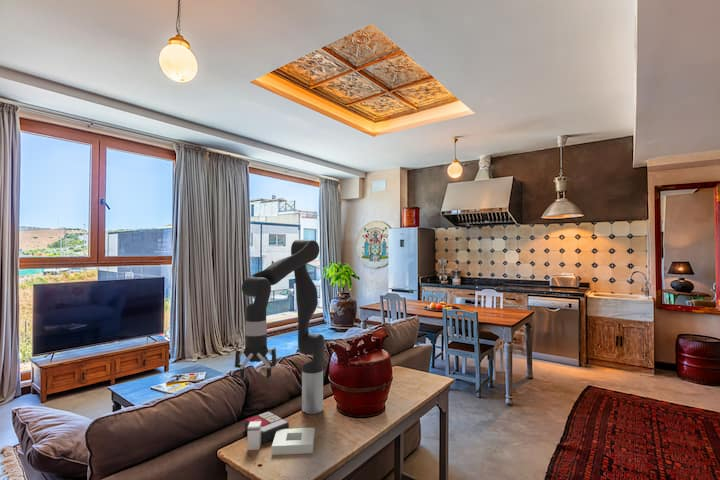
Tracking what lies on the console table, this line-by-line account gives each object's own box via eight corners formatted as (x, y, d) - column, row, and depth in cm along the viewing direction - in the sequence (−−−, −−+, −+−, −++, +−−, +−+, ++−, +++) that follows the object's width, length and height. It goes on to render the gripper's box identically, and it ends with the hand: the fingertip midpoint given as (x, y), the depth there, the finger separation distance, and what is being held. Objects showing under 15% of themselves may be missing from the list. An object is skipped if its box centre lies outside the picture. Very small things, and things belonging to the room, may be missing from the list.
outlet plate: (276, 437, 135) (276, 429, 136) (314, 435, 137) (314, 427, 137) (271, 455, 123) (271, 446, 124) (312, 453, 125) (312, 444, 125)
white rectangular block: (249, 444, 131) (250, 421, 131) (261, 443, 131) (261, 421, 131) (247, 450, 127) (247, 426, 127) (259, 449, 127) (259, 426, 127)
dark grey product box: (269, 410, 149) (289, 420, 138) (269, 420, 149) (289, 432, 138) (243, 418, 141) (263, 431, 131) (244, 430, 141) (263, 443, 130)
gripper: (277, 330, 135) (277, 374, 134) (238, 331, 133) (238, 375, 133) (274, 334, 127) (274, 381, 127) (233, 335, 126) (232, 382, 125)
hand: (255, 378), depth 130 cm, fingers open, 8 cm apart
